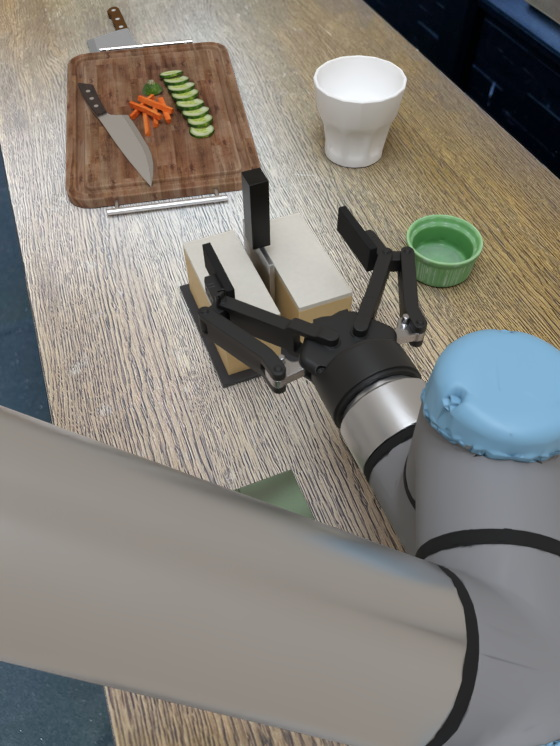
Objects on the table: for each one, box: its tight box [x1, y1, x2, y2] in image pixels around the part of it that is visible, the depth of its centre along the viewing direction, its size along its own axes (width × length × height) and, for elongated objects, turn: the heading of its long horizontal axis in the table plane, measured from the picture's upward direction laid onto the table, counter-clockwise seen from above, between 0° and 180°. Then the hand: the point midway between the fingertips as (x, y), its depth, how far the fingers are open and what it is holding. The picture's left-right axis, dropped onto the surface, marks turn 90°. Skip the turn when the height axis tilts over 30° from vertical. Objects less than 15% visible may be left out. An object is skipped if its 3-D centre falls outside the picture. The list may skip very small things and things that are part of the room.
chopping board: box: [64, 38, 262, 216], centre depth 99 cm, size 45×27×3 cm, turn 11°
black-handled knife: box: [241, 167, 275, 303], centre depth 69 cm, size 8×2×17 cm, turn 22°
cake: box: [179, 211, 354, 389], centre depth 72 cm, size 16×16×8 cm
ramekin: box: [405, 213, 484, 288], centre depth 78 cm, size 9×9×4 cm
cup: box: [312, 54, 408, 169], centre depth 90 cm, size 12×12×11 cm
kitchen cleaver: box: [86, 6, 138, 53], centre depth 116 cm, size 24×1×10 cm
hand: (275, 235), depth 61 cm, fingers open, 13 cm apart
